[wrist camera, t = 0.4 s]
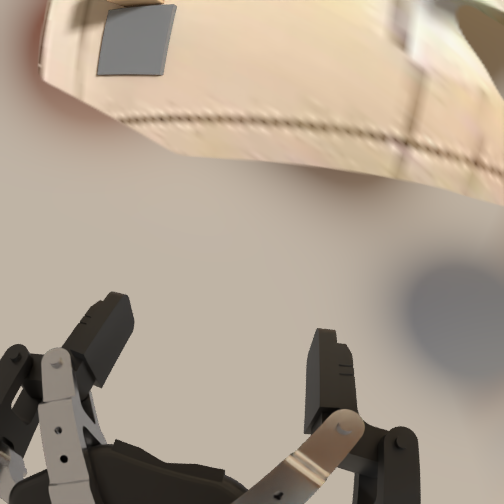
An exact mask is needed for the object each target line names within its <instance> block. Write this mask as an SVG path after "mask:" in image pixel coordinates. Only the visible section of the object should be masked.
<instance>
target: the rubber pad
mask: <svg viewBox="0 0 504 504" xmlns="http://www.w3.org/2000/svg"><path fill="white" fill-rule="evenodd" d="M176 8H177V6H176V5H174V4H171V5H151V6H139V7H130V8H121V9H114V10H109V12H108V16H107V20H106V25H105V30H104V35H103V41H102V46H101V52H100V59H99V66H98V73H97V75H107V74H151V75H163V73H164V67H165V61H166V55H167V50H168V45H169V39H170V35H171V30H172V25H173V21H174V16H175V12H176Z"/></svg>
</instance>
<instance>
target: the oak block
mask: <svg viewBox="0 0 504 504" xmlns="http://www.w3.org/2000/svg"><path fill="white" fill-rule="evenodd" d="M106 1H109V2H112V3H115V4H118V5H121V6H124V7H128V6H137V5H149V4H164V0H106Z"/></svg>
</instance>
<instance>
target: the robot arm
mask: <svg viewBox="0 0 504 504" xmlns="http://www.w3.org/2000/svg"><path fill="white" fill-rule="evenodd" d="M133 329H134V317H133V313H132V309H131V305H130V300H129V297H128V296H127V295H124V294H121V293H117V292H110V293H109V294H108V295H107V297H106V298H105V299H104V301H101V300H100V301H98V302H97V303H96V304H94V305H93V306H91V307H90V309H89V310H88V311H87V313H86V314H85V316H84V317H83V318H82V319H81V321H80V323H78V325H77V326H76V327H75V329H74V330H73V332H72V333H71V335H70V336H69V337H68V339H67V340H66V342H65V343H64V345H63V346H62V347H61V348H53V349H51V350H49V351H47V352H46V353H45V354H44V355H41V354H30V353H29V351H28V350H27V348H26V347H25V346H24V345H21V344H16V345H13V346H11V347H10V348H8V349H7V351H6V352H5V354H4V355H3V357H2V358H1V360H0V498H1V499H3V500H4V501H5V502H7V503H8V504H304V503H305V502H306V501H307V500H308V499H309V498H310V497H311V496H312V495H313V494H314V493H315V492H316V491H317V490H318V489H319V488H320V487H321V486H322V485H323V484H324V483H325V481H326V480H327V478H328V477H329V475H330V474H331V473H332V472H333V471H334V470H335V468H336V467H338V468H341V469H345V470H348V471H351V472H354V473H355V477H354V491H353V503H352V504H420V503H421V502H420V501H421V499H420V498H421V497H420V495H421V494H420V464H419V448H418V439H417V437H416V435H415V434H414V432H413V431H412V430H410V429H408V428H406V427H401V426H400V427H395V428H392V429H391V430H390V431H387V430H384V429H380V428H377V427H373V426H371V425H369V424H367V423H366V422H365V421H364V420H363V419H362V418H361V417H360V415H359V413H358V410H357V400H356V388H355V377H354V368H353V359H352V354H351V352H350V350H349V348H348V347H347V345H346V344H339V343H337V337H336V331H335V330H330V329H321V328H317V330H316V332H315V335H314V338H313V341H312V344H311V347H310V350H309V353H308V358H307V369H306V399H305V421H304V423H305V424H304V434H311V436H310V437H309V438H308V439H307V440H306V441H305V442H304V443H303V444H302V445H301V446H300V447H299V448H298V449H297V450H296V451H295V452H294V453H292V454H290V455H289V456H288V457H287V458H285V459H284V460H283V461H282V462H281V463H280V464H279V465H278V466H277V467H275V468H274V469H273V470H272V471H271V472H270V473H268V474H267V475H266V476H265V477H264V478H263V479H262V480H260V481H259V482H258V483H257V484H256V485H254V486H253V487H252V488H251V489H249V490H248V489H246V488H245V487H244V486H243V485H242V484H241V483H239V482H238V481H236V480H234V479H233V478H231V477H228V476H226V475H225V470H223V469H217V468H212V467H208V466H203V465H198V464H178V463H165V462H163V461H161V460H159V459H157V458H156V457H154V456H152V455H151V454H149V453H147V452H146V451H144V450H143V449H141V448H139V447H136V446H133V445H130V444H127V443H125V442H122V441H120V440H117V439H116V440H115V442H114V444H107V442H106V440H105V438H104V435H103V434H102V432H101V429H100V426H99V423H98V419H97V415H96V411H95V406H94V402H93V397H92V393H91V391H90V390H91V388H92V386H93V385H95V386H97V387H100V388H102V387H103V385H104V383H105V381H106V379H107V377H108V375H109V374H110V372H111V370H112V368H113V366H114V364H115V362H116V361H117V359H118V357H119V355H120V353H121V351H122V350H123V348H124V346H125V344H126V343H127V341H128V339H129V337H130V335H131V334H132V332H133ZM20 386H22V388H23V390H22V391H21V393H20V395H19V397H18V399H17V401H16V403H15V405H14V407H13V408H12V409H11V403H12V401H13V399H14V397H15V395H16V393H17V392H18V390H19V388H20ZM38 423H40V430H41V437H42V444H43V450H44V456H45V461H46V466H47V469H45V470H43V471H41V472H39V473H37V474H34V475H32V476H30V477H27V478H25V479H23V477H25V476H26V474H27V469H26V468H25V466H24V461H23V458H24V455H25V453H26V450H27V448H28V446H29V443H30V441H31V439H32V436H33V434H34V432H35V430H36V428H37V425H38Z"/></svg>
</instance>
